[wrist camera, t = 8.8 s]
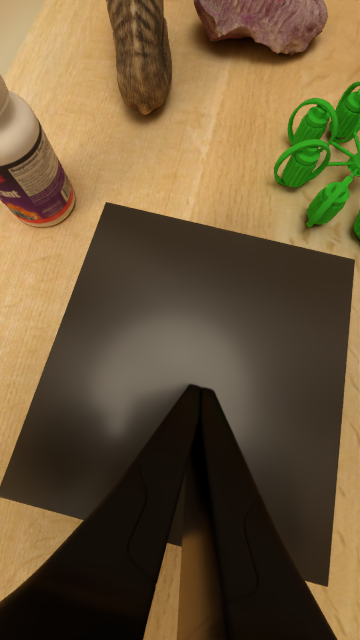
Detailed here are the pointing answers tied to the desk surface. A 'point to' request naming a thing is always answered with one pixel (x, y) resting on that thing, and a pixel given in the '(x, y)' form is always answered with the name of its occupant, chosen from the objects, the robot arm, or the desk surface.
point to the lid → (195, 370)
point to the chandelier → (346, 121)
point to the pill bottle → (30, 166)
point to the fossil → (264, 21)
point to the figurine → (141, 52)
